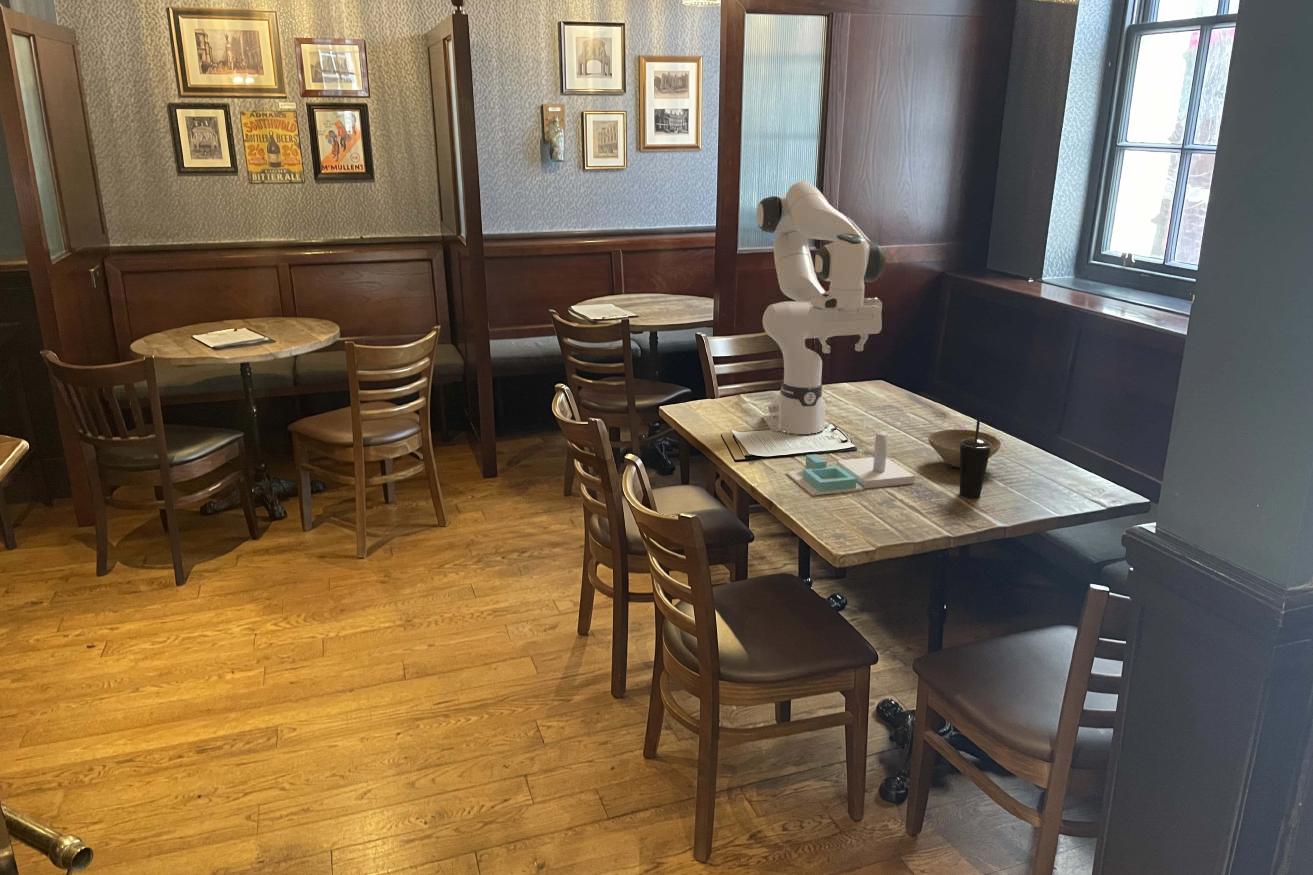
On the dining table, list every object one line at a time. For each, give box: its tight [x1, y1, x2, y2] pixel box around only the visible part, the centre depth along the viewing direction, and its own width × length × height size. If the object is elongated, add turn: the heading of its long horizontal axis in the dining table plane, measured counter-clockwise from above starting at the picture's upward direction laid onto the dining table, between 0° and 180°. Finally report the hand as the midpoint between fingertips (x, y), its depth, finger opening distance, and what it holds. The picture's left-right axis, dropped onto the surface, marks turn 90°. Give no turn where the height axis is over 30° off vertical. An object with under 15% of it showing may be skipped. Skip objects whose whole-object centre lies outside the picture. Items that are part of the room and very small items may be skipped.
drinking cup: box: [959, 417, 992, 500], centre depth 225 cm, size 8×8×20 cm
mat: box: [786, 469, 864, 496], centre depth 237 cm, size 16×14×1 cm
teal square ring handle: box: [802, 454, 857, 492], centre depth 236 cm, size 16×10×4 cm, turn 16°
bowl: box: [927, 428, 1002, 469], centre depth 247 cm, size 18×18×8 cm
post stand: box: [836, 431, 916, 489], centre depth 240 cm, size 16×14×12 cm
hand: (842, 351), depth 240 cm, fingers open, 8 cm apart
